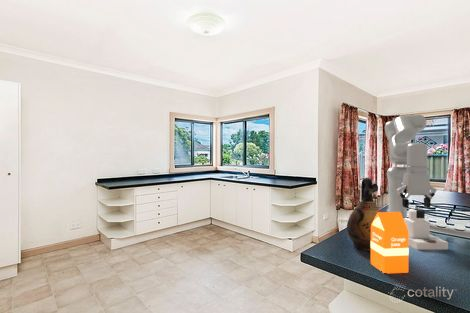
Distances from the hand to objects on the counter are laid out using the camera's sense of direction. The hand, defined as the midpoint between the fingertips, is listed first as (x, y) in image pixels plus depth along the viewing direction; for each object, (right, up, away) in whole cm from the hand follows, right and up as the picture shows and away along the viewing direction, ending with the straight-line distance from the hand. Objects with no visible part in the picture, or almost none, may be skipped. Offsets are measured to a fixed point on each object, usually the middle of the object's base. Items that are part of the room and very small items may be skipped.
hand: (416, 207), depth 114 cm
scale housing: (0, -16, -2) cm, 16 cm away
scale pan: (0, -14, 0) cm, 14 cm away
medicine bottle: (0, -13, 0) cm, 13 cm away
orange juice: (-29, -17, -26) cm, 42 cm away
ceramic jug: (-26, -16, -6) cm, 31 cm away
